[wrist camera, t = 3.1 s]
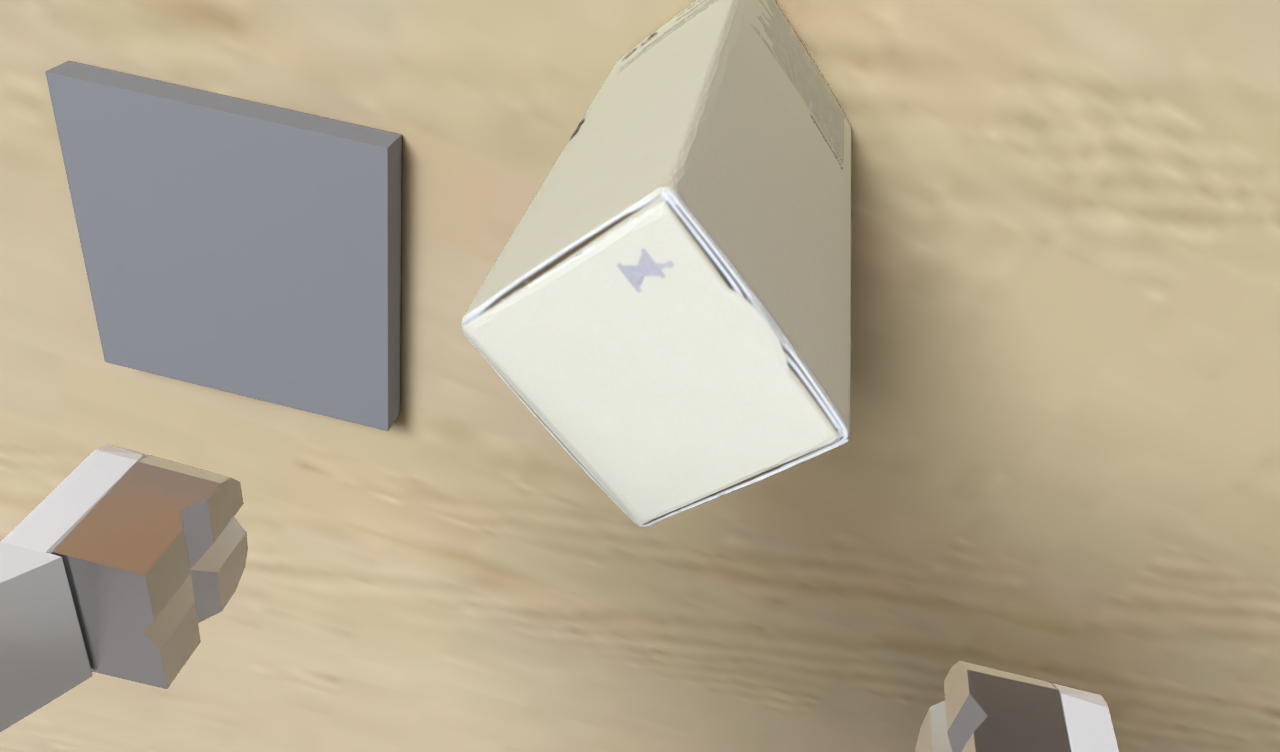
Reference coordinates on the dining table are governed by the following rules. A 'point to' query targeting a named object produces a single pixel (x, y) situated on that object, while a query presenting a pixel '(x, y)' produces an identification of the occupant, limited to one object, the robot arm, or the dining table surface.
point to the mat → (237, 241)
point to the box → (687, 269)
